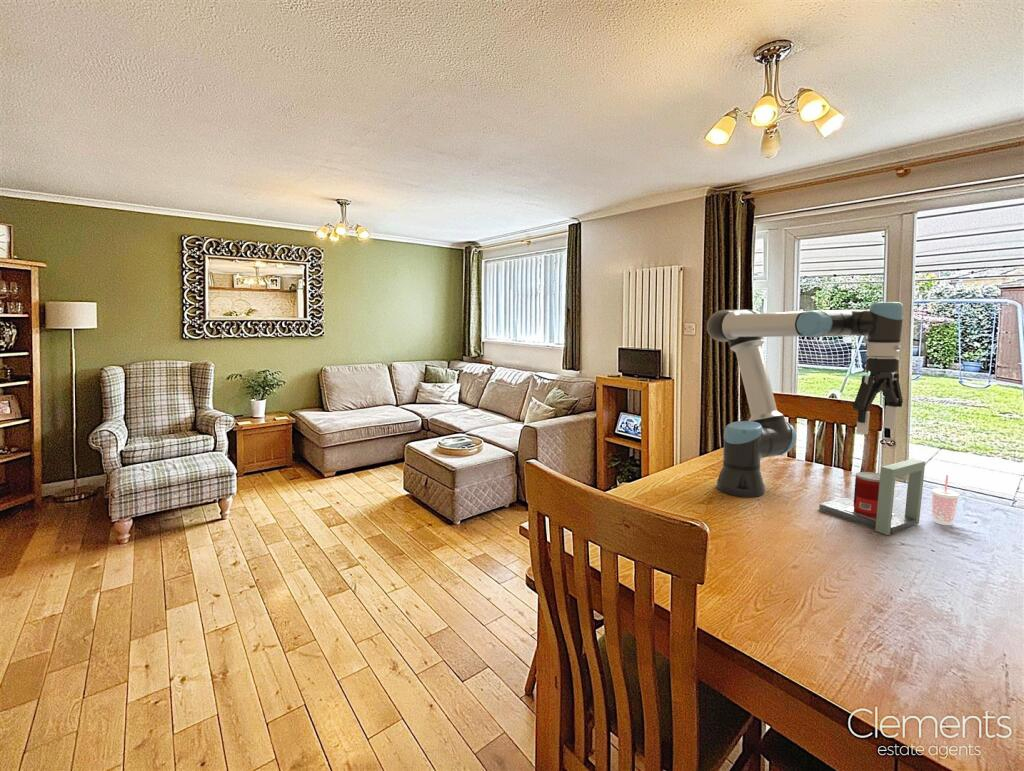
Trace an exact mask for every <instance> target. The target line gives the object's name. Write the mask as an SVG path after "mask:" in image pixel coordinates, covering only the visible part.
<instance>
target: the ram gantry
mask: <svg viewBox="0 0 1024 771" xmlns="http://www.w3.org/2000/svg"><path fill="white" fill-rule="evenodd" d="M925 468H926V461H925V460H920V459H916V458H911V459H907V460H903V461H898V462H894V463H891V464H887V465H883V466H880V472H879V474H880V483H879V494H878V506H877V517H876V529H874V530H875V532H878V533H881V534H884V535H886V536H888V535H891V534H890V531H891V520H892V512H893V510H894V509H893V508H894V507H893V506H894V497H895V496H894V495H895V488H896V486H895V484H896V479H899V480H904V481H905V480H907V489H906V500H905V510H904V516H907V517H910V518H913V519H916V524H915V526H917V525H919V524H920V518H921V510H922V509H921V507H922V498H923V497H922V496H923V488H924V487H923V485H924V478H925V477H924V476H925V470H926V469H925Z"/></svg>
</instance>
